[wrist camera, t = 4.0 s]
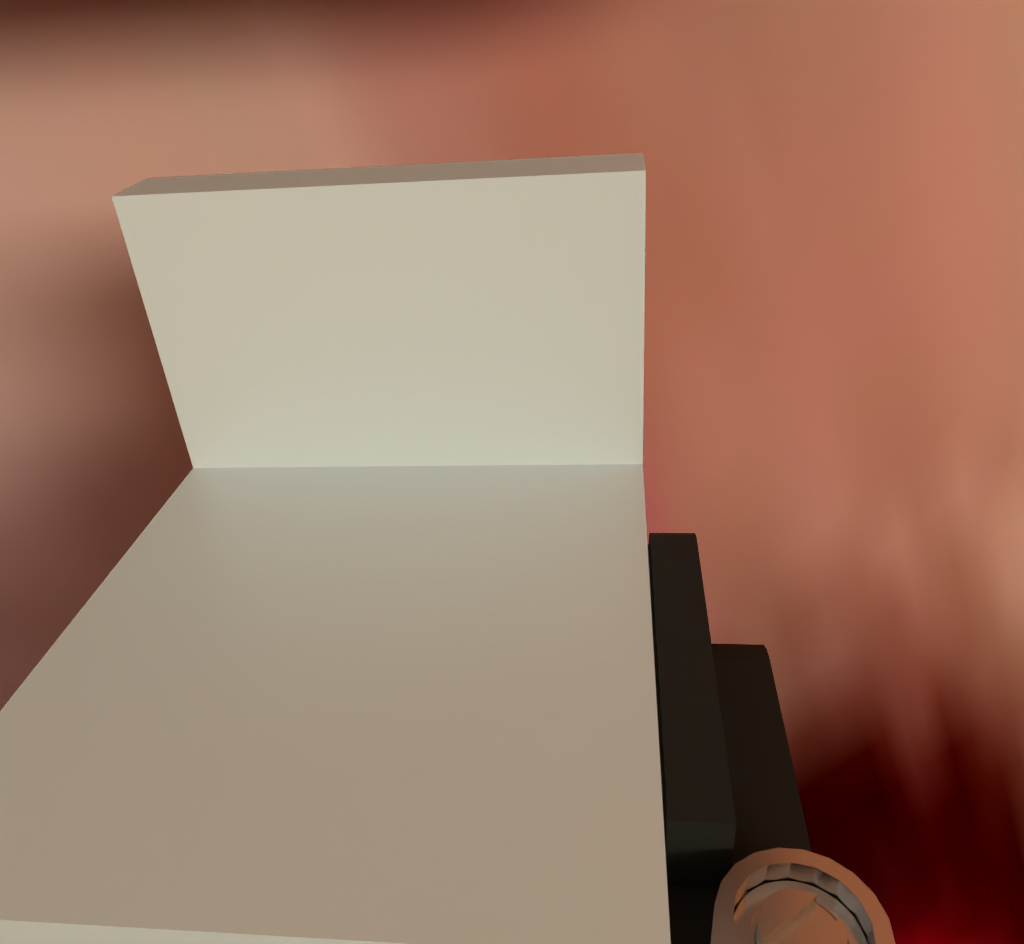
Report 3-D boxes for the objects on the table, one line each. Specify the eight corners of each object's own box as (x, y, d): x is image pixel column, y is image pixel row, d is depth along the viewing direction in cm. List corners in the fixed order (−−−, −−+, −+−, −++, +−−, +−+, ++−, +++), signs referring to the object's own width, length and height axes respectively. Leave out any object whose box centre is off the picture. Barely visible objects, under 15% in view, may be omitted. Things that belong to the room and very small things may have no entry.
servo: (634, 91, 9) (722, 696, 2) (631, 810, 15) (649, 1627, 8) (276, 111, 10) (-796, 661, 2) (410, 801, 16) (231, 1567, 8)
